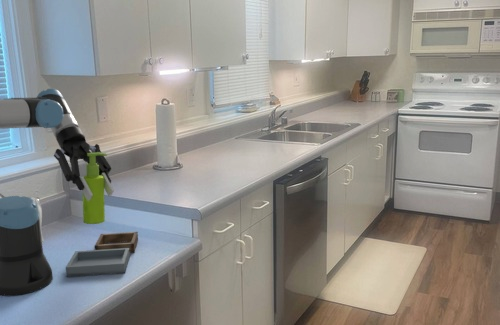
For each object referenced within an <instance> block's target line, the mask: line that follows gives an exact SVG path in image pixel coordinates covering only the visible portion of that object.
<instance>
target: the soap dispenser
mask: <svg viewBox="0 0 500 325" xmlns="http://www.w3.org/2000/svg"><path fill="white" fill-rule="evenodd" d="M97 155H102V156H104V157H107V156H108V154H107V153H106V152H105V153H104V152H102V153H100V152H94V153H92V152H91V153H87V156H89V162H90V163H89V164H88V163H87V164H86V175H82V177H84V179H85V181H86V183H87V185H88V186H89V188H90V190H91V192H92V194H93V196H92V198H91V199H90V201H87V199H86V197H85V196H84V194H83V193H82V215H83V218H82V220H83V223H84V224H87V225H97V224H98V225H99V224H102V223H105V221H106V220H105V218H106V217H105V216H106V213H105V189H104V176H101V175H99V164H97V163H96V156H97Z"/></svg>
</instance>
